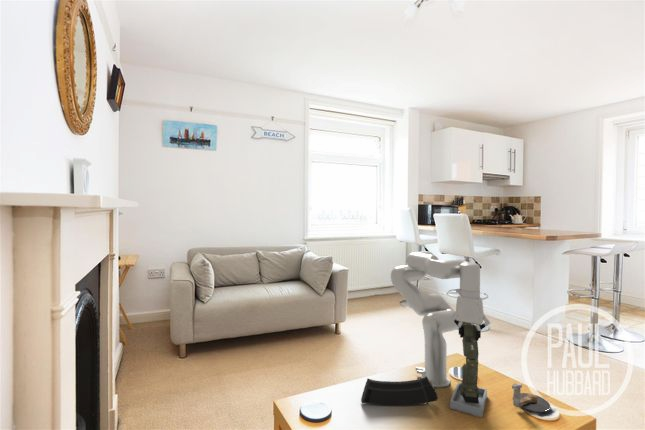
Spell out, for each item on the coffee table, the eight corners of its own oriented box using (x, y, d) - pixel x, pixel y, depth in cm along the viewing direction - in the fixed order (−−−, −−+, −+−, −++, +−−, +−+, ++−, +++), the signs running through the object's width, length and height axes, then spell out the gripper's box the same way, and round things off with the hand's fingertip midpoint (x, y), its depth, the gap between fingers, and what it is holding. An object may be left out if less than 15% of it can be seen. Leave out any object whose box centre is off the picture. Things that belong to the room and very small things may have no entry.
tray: (450, 408, 138) (450, 400, 138) (457, 389, 152) (457, 382, 152) (482, 417, 132) (482, 409, 132) (487, 396, 146) (487, 389, 146)
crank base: (514, 408, 138) (514, 404, 138) (515, 393, 148) (515, 390, 148) (550, 417, 132) (550, 413, 132) (549, 401, 142) (549, 397, 142)
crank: (530, 396, 142) (531, 376, 142) (539, 401, 139) (539, 381, 139) (509, 404, 137) (509, 383, 137) (517, 409, 134) (517, 388, 134)
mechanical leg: (484, 407, 132) (481, 324, 137) (464, 404, 133) (462, 323, 139) (476, 396, 145) (473, 321, 151) (457, 394, 146) (456, 320, 152)
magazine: (355, 384, 140) (427, 363, 139) (355, 380, 143) (425, 359, 143) (368, 424, 140) (439, 403, 140) (367, 419, 144) (437, 398, 143)
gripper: (445, 293, 142) (445, 337, 142) (492, 298, 133) (492, 345, 134) (449, 289, 148) (449, 331, 149) (494, 294, 139) (493, 339, 140)
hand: (469, 337), depth 141 cm, fingers closed on mechanical leg, 5 cm apart
